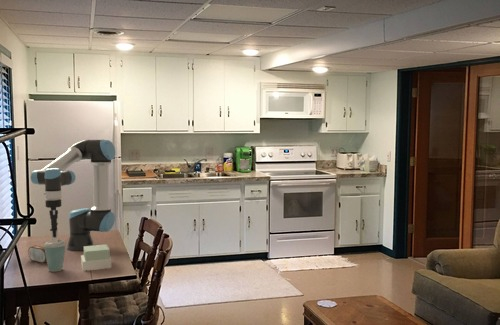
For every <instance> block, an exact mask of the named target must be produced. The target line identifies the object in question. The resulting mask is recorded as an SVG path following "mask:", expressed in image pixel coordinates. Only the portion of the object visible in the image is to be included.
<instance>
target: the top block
mask: <svg viewBox="0 0 500 325" xmlns="http://www.w3.org/2000/svg"><path fill="white" fill-rule="evenodd" d="M83 247H84V250H83V255H84V258H85V261H95V260H105V259H110V258H111V255H110V254H111V253H110V252H111V251H110V250H111V249H110V248H109V246H108V244H97V245H94V246H83Z"/></svg>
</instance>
